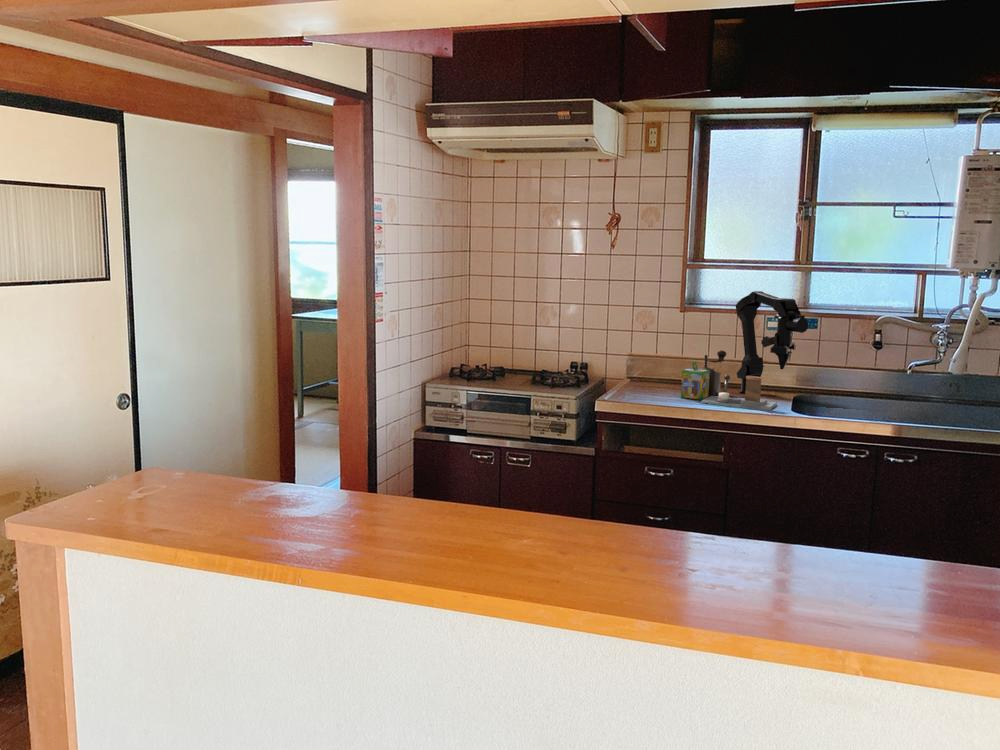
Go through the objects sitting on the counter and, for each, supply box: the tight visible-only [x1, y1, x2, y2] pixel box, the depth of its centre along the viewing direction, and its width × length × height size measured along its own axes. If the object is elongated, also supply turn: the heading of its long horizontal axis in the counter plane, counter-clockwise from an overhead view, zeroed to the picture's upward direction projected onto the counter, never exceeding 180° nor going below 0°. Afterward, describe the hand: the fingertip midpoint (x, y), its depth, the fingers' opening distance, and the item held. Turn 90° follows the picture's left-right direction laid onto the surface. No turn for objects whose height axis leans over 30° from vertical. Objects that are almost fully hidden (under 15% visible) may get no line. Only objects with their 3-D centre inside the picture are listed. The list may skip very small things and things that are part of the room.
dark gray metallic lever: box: [722, 374, 731, 393], centre depth 340 cm, size 2×2×8 cm
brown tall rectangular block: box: [744, 376, 763, 403], centre depth 328 cm, size 3×5×11 cm, turn 60°
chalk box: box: [680, 361, 710, 401], centre depth 347 cm, size 9×9×15 cm
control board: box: [700, 391, 778, 412], centre depth 334 cm, size 14×26×4 cm, turn 60°
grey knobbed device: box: [699, 350, 727, 396], centre depth 358 cm, size 16×11×18 cm
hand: (781, 369), depth 342 cm, fingers closed
